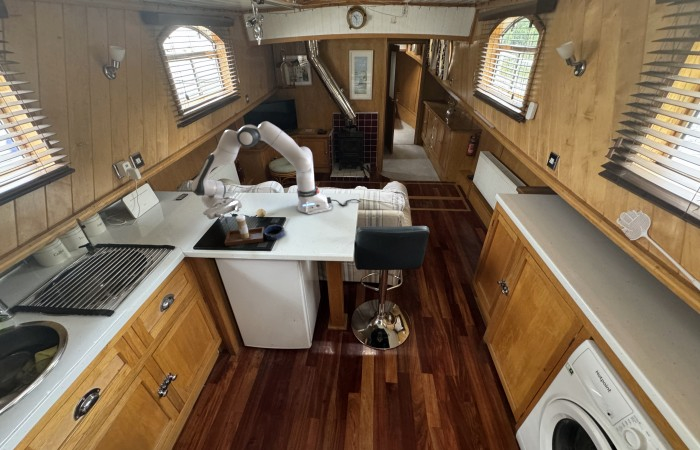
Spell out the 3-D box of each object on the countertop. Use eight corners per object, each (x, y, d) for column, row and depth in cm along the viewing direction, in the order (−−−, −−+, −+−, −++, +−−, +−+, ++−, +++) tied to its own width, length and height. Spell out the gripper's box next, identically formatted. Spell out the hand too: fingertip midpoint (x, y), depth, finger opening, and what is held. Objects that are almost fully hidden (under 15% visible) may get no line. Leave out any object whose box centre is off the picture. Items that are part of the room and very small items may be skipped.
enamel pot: (284, 227, 169) (283, 223, 167) (284, 240, 158) (283, 235, 156) (265, 229, 167) (264, 225, 166) (264, 242, 156) (263, 237, 154)
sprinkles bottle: (240, 236, 160) (234, 215, 153) (248, 233, 163) (243, 213, 155) (242, 240, 157) (236, 219, 150) (250, 237, 159) (245, 216, 152)
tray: (264, 230, 166) (264, 226, 165) (263, 241, 157) (262, 238, 155) (229, 234, 164) (228, 230, 162) (225, 246, 154) (224, 242, 152)
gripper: (200, 207, 161) (211, 215, 153) (233, 195, 173) (245, 202, 165) (203, 217, 164) (214, 225, 156) (235, 204, 177) (247, 211, 169)
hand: (230, 213), depth 161 cm, fingers open, 8 cm apart
